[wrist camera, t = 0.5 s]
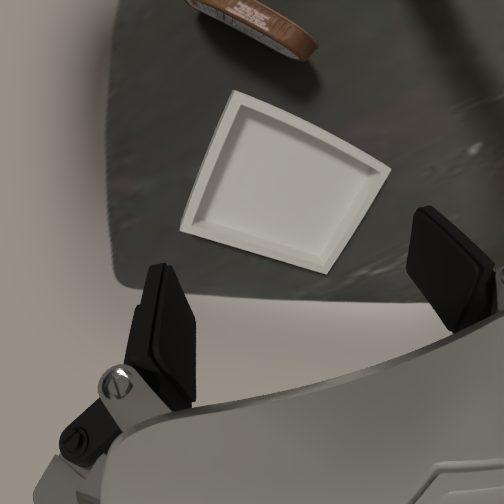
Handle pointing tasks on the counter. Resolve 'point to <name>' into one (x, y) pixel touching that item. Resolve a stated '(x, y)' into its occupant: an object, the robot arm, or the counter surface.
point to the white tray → (280, 186)
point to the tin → (261, 25)
